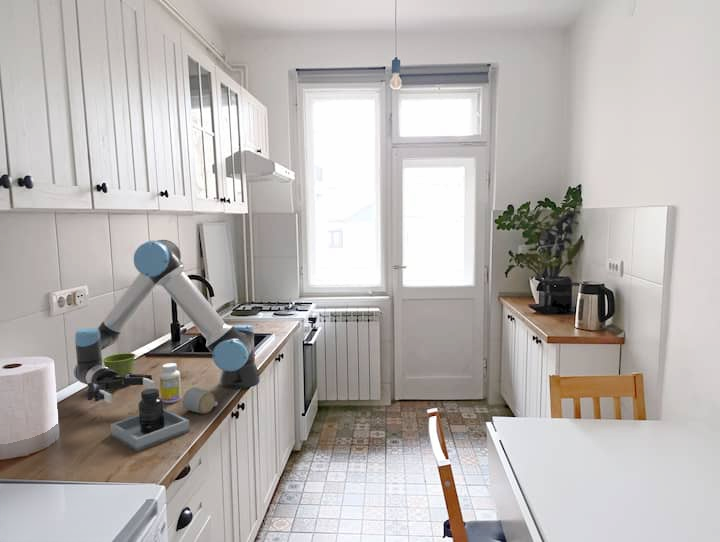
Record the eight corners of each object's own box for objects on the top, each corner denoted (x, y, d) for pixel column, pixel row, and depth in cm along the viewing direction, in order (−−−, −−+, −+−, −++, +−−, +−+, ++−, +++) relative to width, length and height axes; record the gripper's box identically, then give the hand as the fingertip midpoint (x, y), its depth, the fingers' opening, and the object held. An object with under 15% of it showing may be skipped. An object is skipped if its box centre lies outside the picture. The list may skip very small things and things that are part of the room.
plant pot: (131, 378, 191) (129, 351, 190) (142, 385, 182) (140, 356, 181) (99, 385, 183) (97, 357, 181) (109, 393, 174) (107, 363, 173)
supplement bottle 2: (166, 396, 170) (164, 362, 169) (184, 396, 170) (182, 362, 169) (157, 403, 164) (155, 367, 162) (176, 403, 163) (174, 368, 162)
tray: (162, 417, 152) (161, 407, 151) (189, 431, 142) (189, 420, 141) (110, 435, 139) (110, 424, 139) (137, 451, 129) (136, 439, 129)
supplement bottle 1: (144, 425, 144) (142, 387, 143) (167, 424, 145) (165, 386, 143) (136, 435, 137) (133, 395, 136) (160, 434, 138) (158, 394, 137)
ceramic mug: (200, 417, 152) (199, 394, 151) (182, 413, 155) (181, 390, 155) (223, 407, 161) (223, 385, 160) (206, 402, 165) (206, 381, 164)
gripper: (139, 379, 169) (171, 392, 156) (62, 400, 150) (91, 417, 136) (138, 359, 168) (169, 370, 155) (60, 378, 149) (89, 392, 136)
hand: (133, 392), depth 146 cm, fingers open, 13 cm apart
